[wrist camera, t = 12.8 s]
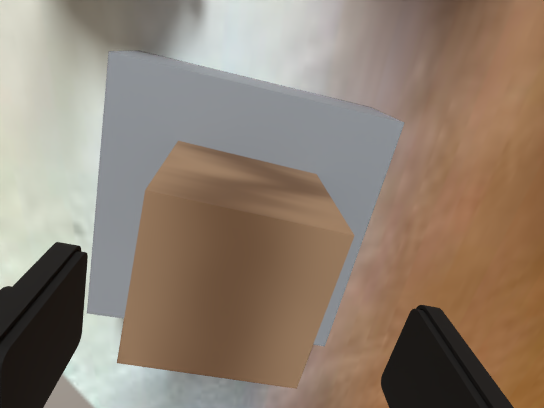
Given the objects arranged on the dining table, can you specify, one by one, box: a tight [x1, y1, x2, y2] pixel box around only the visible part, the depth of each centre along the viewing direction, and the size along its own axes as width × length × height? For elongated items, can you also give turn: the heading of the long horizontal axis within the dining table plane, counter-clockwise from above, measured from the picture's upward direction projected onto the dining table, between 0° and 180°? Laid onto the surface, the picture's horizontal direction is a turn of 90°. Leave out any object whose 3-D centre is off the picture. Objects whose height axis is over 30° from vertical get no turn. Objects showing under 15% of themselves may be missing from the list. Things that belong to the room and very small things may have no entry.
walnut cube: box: [117, 141, 355, 389], centre depth 15 cm, size 6×6×6 cm
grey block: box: [87, 51, 404, 346], centre depth 20 cm, size 12×12×5 cm
